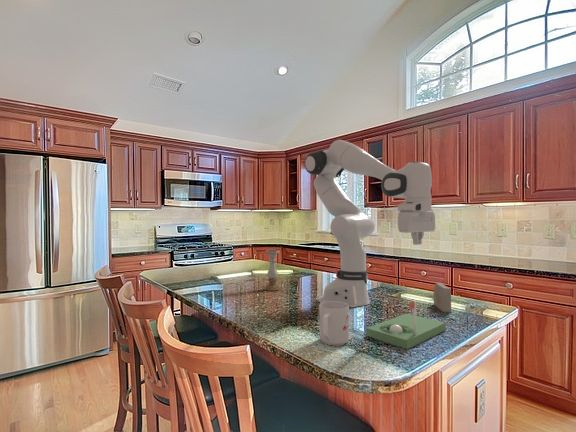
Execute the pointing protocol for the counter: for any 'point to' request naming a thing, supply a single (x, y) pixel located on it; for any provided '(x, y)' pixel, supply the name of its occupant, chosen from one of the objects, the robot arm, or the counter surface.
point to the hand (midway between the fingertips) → (417, 244)
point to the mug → (334, 322)
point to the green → (406, 329)
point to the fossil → (442, 297)
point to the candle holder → (272, 272)
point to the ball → (396, 329)
